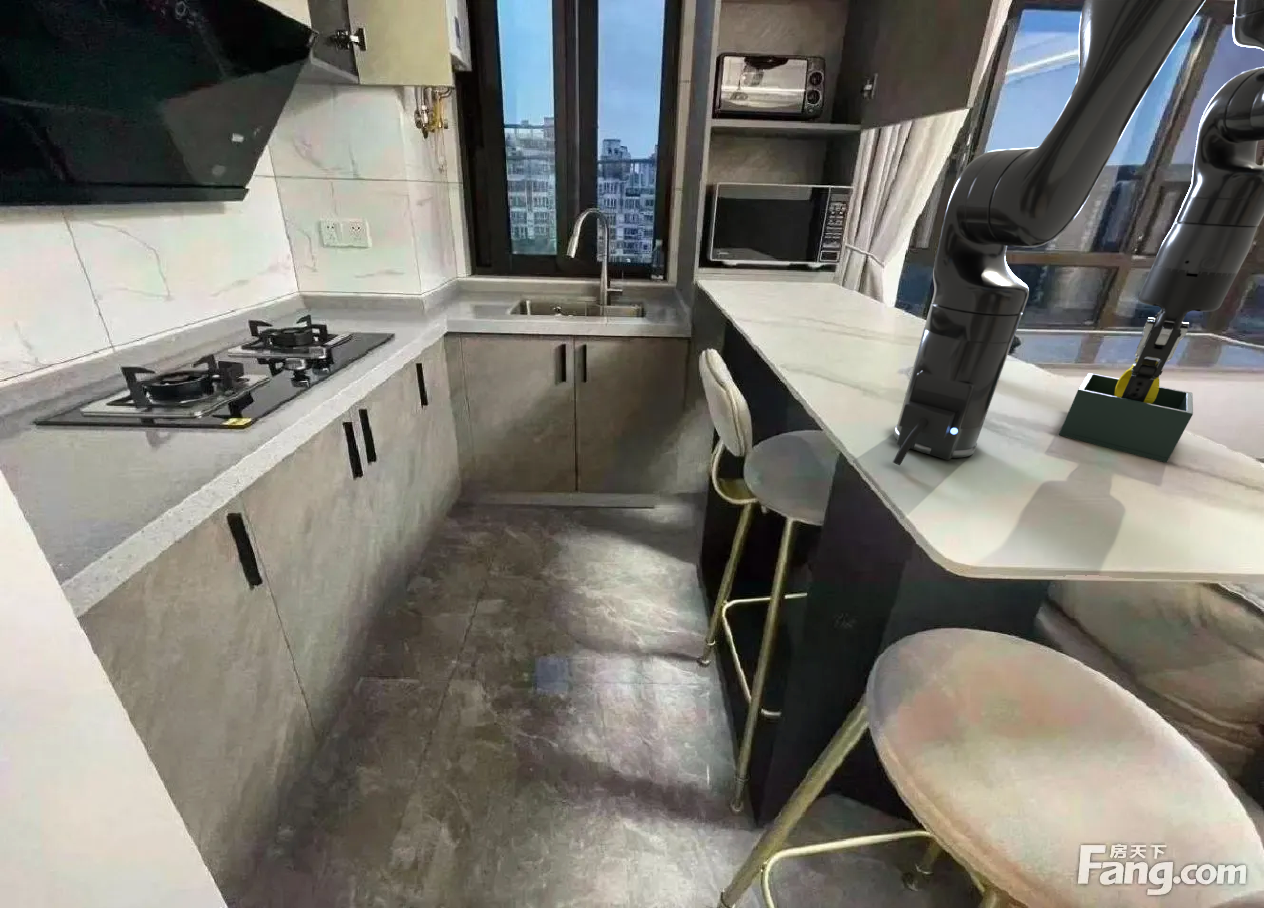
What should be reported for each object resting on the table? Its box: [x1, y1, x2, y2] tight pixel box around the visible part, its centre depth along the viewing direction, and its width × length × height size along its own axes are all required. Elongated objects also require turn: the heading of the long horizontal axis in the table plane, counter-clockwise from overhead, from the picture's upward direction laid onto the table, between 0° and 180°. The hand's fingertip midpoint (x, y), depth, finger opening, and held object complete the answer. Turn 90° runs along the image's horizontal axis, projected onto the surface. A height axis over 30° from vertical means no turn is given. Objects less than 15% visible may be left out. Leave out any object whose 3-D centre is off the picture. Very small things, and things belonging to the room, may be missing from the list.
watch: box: [1114, 363, 1160, 404], centre depth 71 cm, size 6×3×6 cm, turn 168°
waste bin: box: [1058, 372, 1194, 463], centre depth 73 cm, size 11×11×7 cm
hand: (1131, 398), depth 72 cm, fingers closed on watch, 5 cm apart
